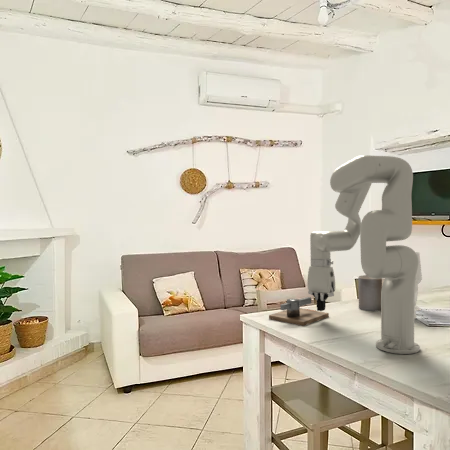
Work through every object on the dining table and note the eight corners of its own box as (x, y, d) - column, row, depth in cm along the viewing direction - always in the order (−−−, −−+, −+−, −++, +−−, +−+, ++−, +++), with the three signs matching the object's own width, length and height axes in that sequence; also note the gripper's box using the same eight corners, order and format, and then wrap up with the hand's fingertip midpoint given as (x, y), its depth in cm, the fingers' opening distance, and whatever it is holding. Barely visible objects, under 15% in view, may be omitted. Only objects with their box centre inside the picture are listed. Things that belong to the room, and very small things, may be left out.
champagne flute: (401, 307, 191) (401, 252, 190) (413, 306, 193) (413, 251, 192) (412, 311, 184) (412, 253, 184) (425, 309, 187) (425, 252, 186)
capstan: (287, 319, 166) (287, 303, 166) (276, 317, 170) (276, 301, 170) (314, 311, 179) (314, 296, 179) (304, 309, 182) (304, 294, 182)
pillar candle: (374, 305, 196) (373, 271, 196) (387, 310, 187) (386, 274, 186) (354, 307, 194) (353, 273, 193) (366, 312, 184) (365, 276, 184)
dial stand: (303, 325, 164) (303, 321, 164) (269, 318, 175) (268, 314, 175) (329, 316, 177) (329, 312, 177) (295, 310, 188) (295, 307, 188)
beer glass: (419, 320, 170) (419, 281, 170) (400, 319, 172) (400, 280, 171) (415, 315, 177) (415, 278, 176) (397, 315, 178) (397, 277, 178)
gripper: (342, 263, 169) (343, 311, 170) (309, 261, 180) (309, 306, 180) (332, 265, 164) (333, 314, 164) (298, 262, 174) (299, 309, 175)
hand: (321, 310), depth 172 cm, fingers closed
